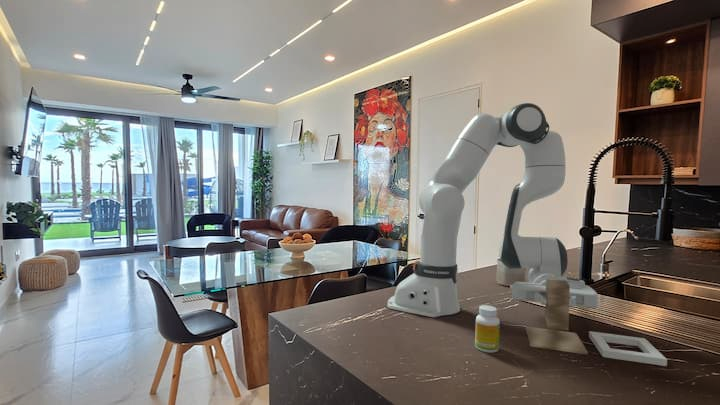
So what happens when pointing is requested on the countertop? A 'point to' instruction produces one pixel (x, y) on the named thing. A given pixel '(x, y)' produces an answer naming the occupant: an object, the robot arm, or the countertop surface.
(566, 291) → the walnut block
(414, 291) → the robot arm
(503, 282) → the planter
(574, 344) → the oak board
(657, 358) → the frame
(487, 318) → the supplement bottle
